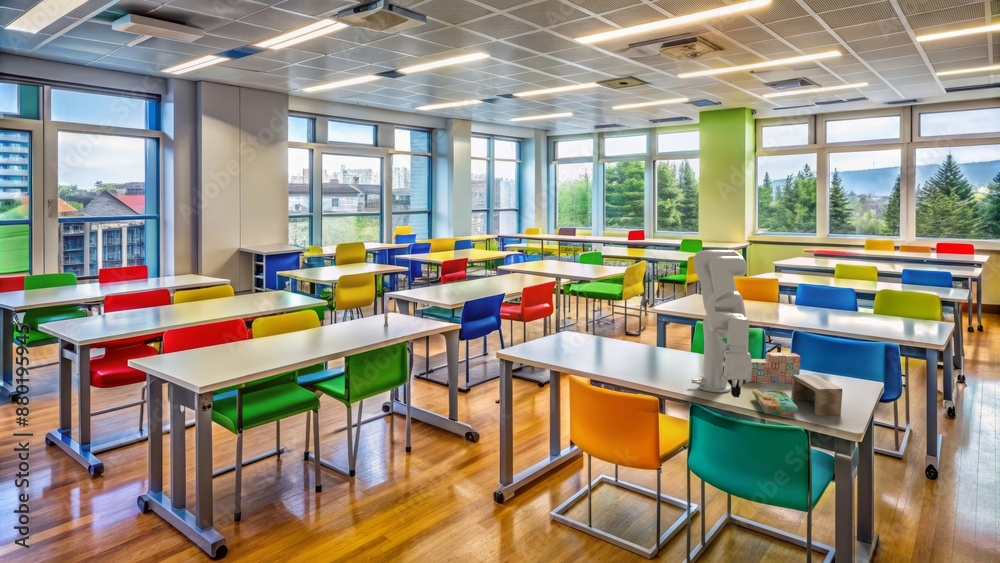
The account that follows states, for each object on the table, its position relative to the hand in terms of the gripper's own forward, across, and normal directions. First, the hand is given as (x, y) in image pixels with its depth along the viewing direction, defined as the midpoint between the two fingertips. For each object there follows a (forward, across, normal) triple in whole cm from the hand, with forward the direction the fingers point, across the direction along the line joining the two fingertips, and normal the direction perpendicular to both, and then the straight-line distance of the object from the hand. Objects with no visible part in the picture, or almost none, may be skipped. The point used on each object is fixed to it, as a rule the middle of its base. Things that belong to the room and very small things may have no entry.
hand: (735, 396), depth 230 cm
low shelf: (+4, +31, +1) cm, 31 cm away
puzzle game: (+5, +15, +1) cm, 16 cm away
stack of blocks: (+4, +30, +36) cm, 47 cm away
